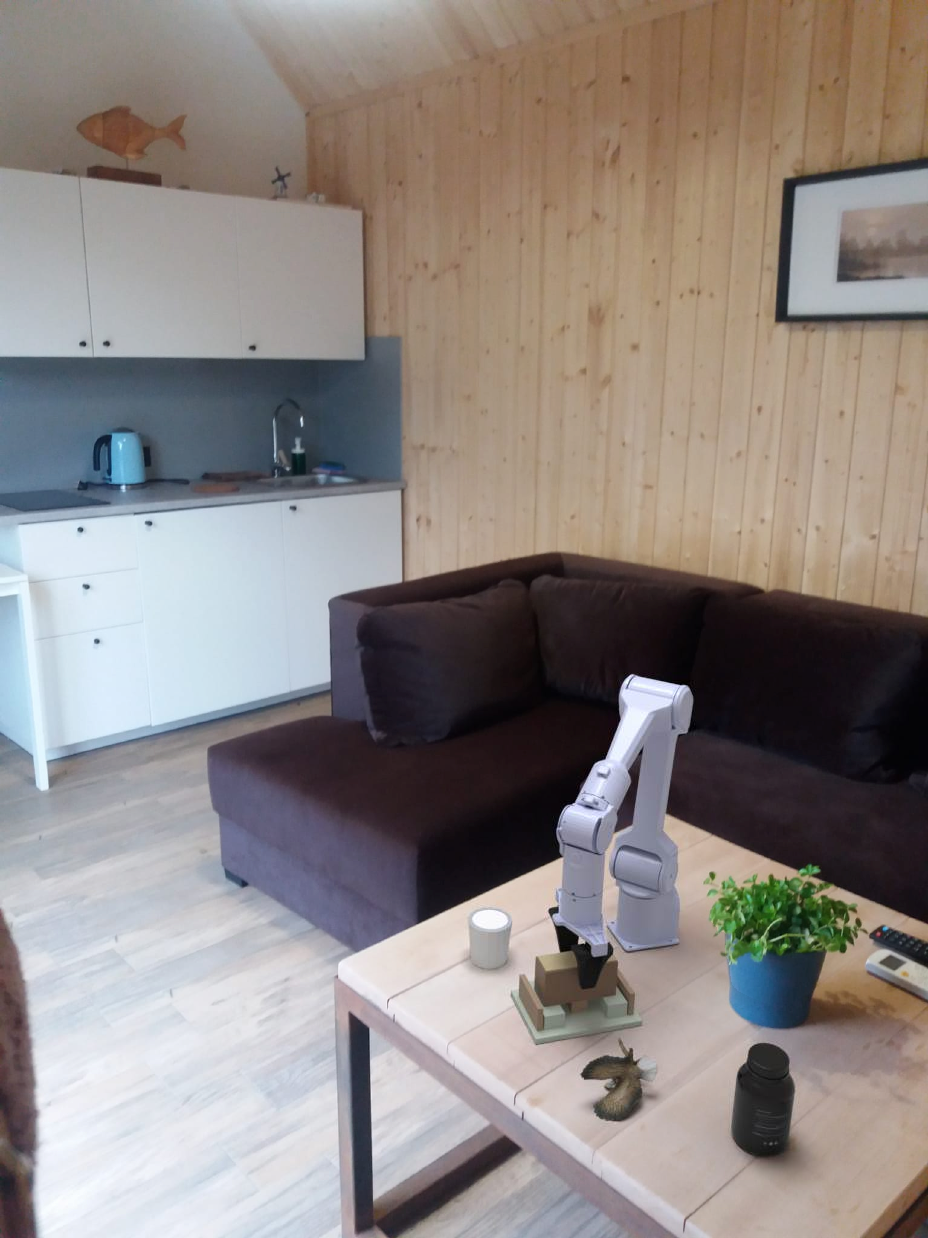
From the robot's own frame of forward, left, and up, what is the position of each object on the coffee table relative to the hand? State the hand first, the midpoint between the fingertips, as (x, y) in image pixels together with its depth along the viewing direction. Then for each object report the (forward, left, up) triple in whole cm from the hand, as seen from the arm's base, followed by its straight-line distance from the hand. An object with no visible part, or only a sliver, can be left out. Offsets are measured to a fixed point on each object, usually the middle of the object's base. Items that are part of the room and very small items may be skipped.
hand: (577, 971), depth 144 cm
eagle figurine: (+1, +17, -7) cm, 19 cm away
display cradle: (0, 0, -7) cm, 7 cm away
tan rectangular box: (0, 0, -4) cm, 4 cm away
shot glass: (+9, -15, -7) cm, 18 cm away
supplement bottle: (-13, +28, -7) cm, 32 cm away
